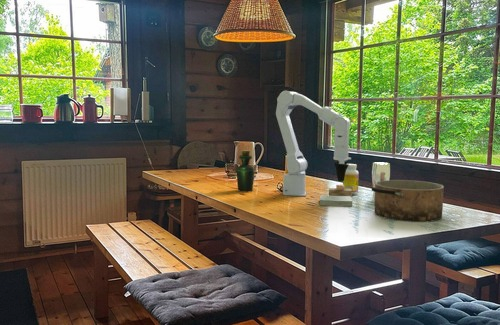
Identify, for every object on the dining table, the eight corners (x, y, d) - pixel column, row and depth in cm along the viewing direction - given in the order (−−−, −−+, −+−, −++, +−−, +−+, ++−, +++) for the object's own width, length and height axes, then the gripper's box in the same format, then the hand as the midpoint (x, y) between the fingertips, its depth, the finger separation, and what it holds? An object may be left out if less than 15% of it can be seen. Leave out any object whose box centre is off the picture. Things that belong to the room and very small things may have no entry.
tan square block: (336, 189, 193) (336, 185, 193) (336, 188, 196) (336, 184, 196) (343, 190, 193) (344, 186, 193) (343, 188, 196) (343, 185, 196)
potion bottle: (244, 192, 206) (244, 151, 204) (232, 190, 212) (232, 150, 210) (258, 191, 211) (258, 150, 209) (246, 188, 217) (246, 149, 215)
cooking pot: (402, 226, 148) (404, 192, 147) (352, 213, 167) (353, 183, 166) (463, 216, 163) (465, 186, 162) (411, 205, 182) (412, 177, 181)
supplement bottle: (358, 195, 203) (359, 165, 202) (342, 194, 204) (343, 164, 203) (357, 192, 210) (358, 163, 208) (342, 192, 211) (343, 163, 210)
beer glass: (379, 202, 188) (380, 164, 186) (367, 199, 194) (368, 162, 192) (392, 200, 191) (394, 163, 190) (380, 197, 197) (381, 162, 196)
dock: (320, 205, 180) (320, 199, 180) (320, 200, 190) (320, 195, 190) (352, 206, 179) (352, 201, 178) (350, 201, 188) (350, 196, 188)
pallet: (328, 199, 193) (329, 189, 193) (328, 197, 198) (328, 188, 198) (351, 200, 192) (351, 190, 191) (350, 198, 197) (350, 188, 196)
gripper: (352, 148, 185) (351, 182, 186) (350, 145, 199) (349, 177, 201) (334, 147, 186) (333, 182, 187) (333, 145, 200) (332, 177, 202)
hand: (340, 179), depth 194 cm, fingers open, 7 cm apart
